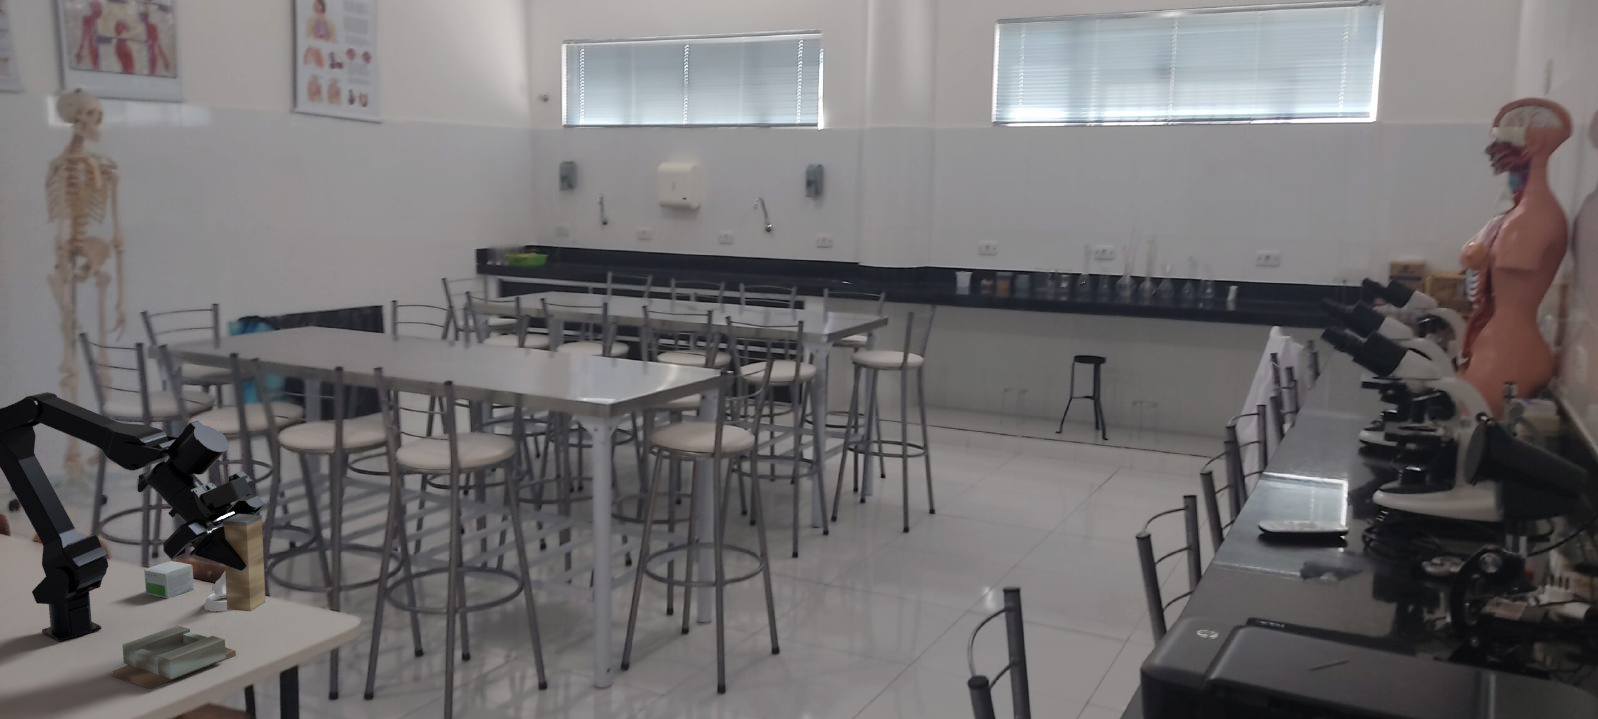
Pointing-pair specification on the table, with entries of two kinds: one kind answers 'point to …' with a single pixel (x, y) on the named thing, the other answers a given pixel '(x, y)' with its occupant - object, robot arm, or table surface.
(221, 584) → the white stemmed ring
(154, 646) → the socket
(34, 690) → the table surface
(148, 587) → the small box
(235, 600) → the rail post
